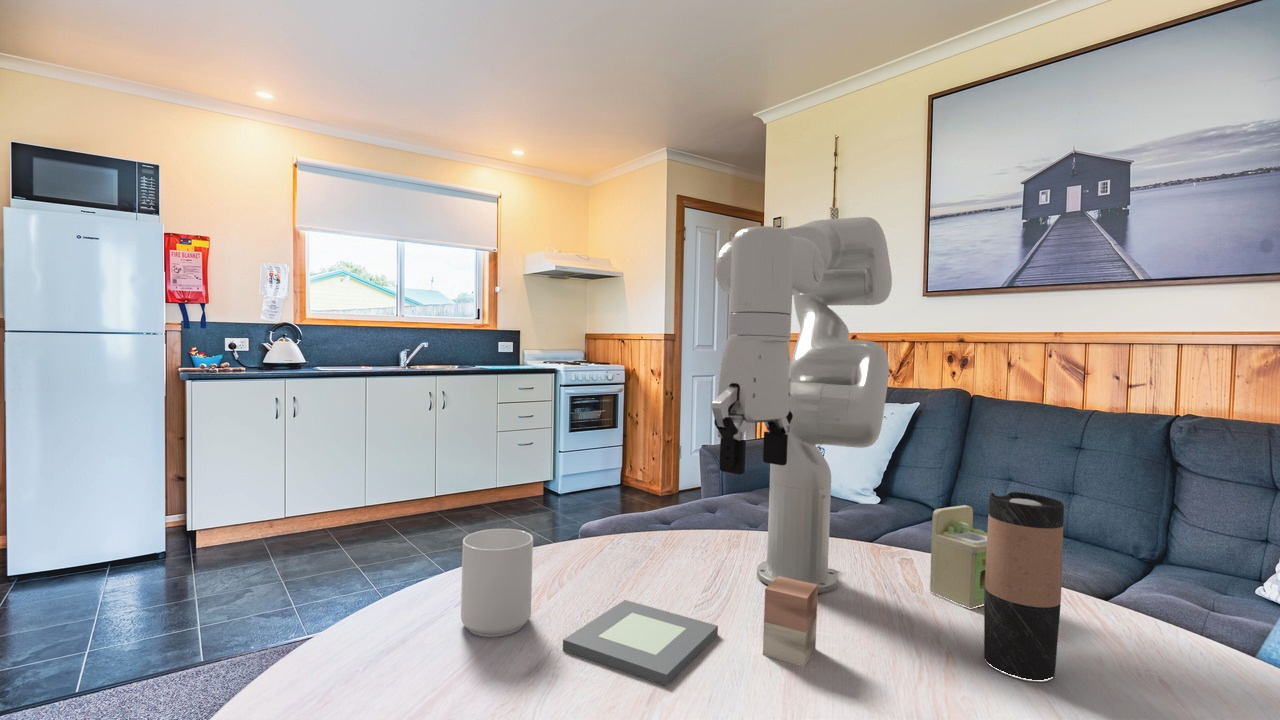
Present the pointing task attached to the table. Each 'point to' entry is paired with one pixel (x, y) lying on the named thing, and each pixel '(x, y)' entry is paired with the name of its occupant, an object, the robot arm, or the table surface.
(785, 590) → the brick stack
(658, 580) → the table surface
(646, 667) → the base board
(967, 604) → the toy sink
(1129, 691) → the table surface
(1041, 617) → the travel mug
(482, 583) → the mug
